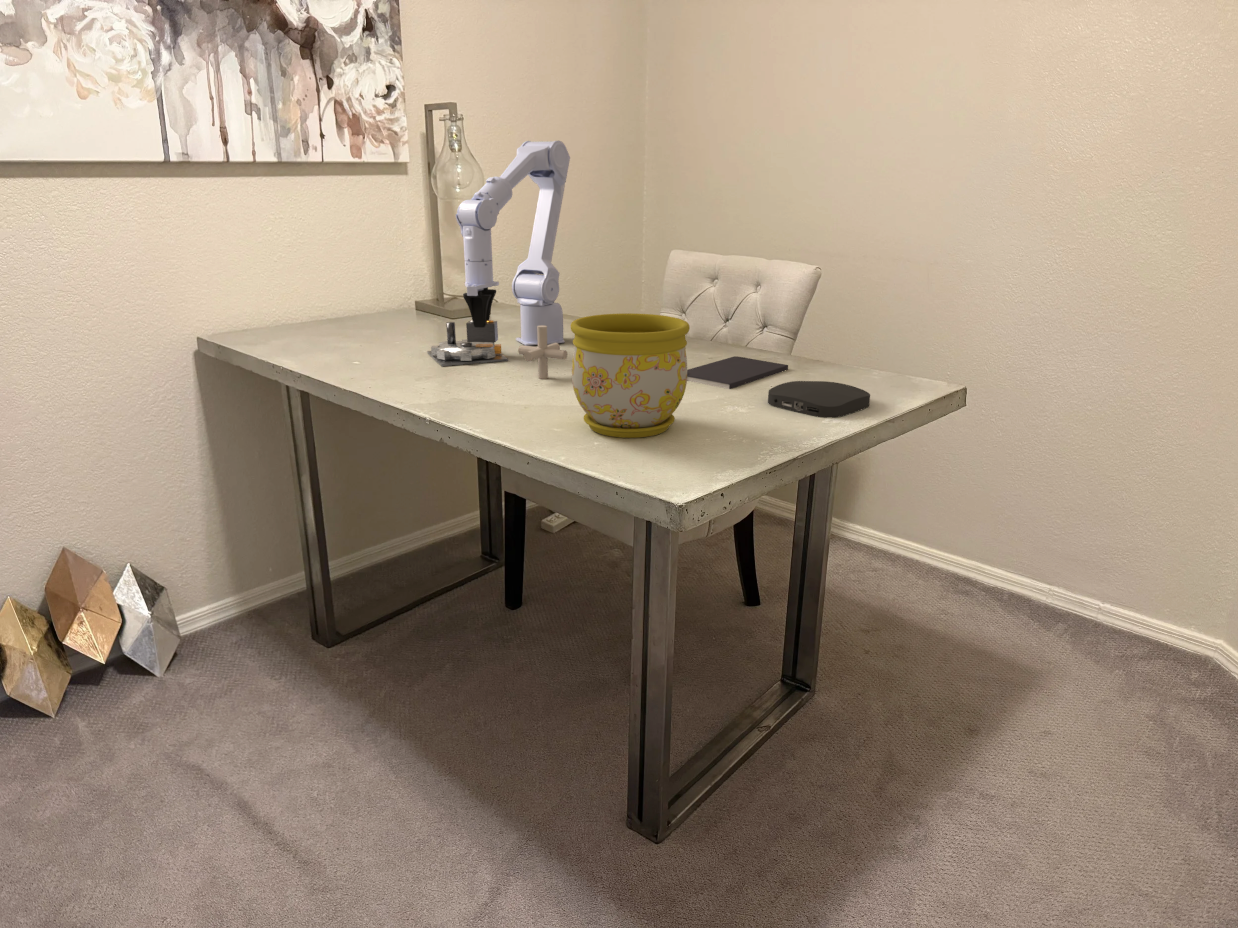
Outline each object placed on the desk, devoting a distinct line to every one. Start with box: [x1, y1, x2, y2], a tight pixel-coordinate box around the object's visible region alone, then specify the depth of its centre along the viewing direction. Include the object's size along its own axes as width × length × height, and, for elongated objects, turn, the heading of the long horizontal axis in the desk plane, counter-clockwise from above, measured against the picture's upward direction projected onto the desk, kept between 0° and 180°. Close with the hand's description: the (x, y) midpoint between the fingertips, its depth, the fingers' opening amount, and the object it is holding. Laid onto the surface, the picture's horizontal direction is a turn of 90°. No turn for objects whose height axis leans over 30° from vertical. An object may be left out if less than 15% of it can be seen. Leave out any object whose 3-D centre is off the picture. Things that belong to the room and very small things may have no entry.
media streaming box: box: [767, 380, 871, 418], centre depth 147 cm, size 15×15×3 cm
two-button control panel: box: [465, 319, 499, 343], centre depth 181 cm, size 6×3×4 cm, turn 86°
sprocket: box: [430, 321, 502, 361], centre depth 180 cm, size 15×15×6 cm
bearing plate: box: [426, 350, 509, 367], centre depth 181 cm, size 14×14×1 cm
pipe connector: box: [517, 325, 568, 380], centre depth 162 cm, size 10×10×10 cm
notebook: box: [687, 356, 789, 390], centre depth 168 cm, size 13×2×21 cm
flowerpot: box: [570, 312, 690, 439], centre depth 131 cm, size 18×18×16 cm
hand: (481, 325), depth 181 cm, fingers closed on two-button control panel, 3 cm apart
